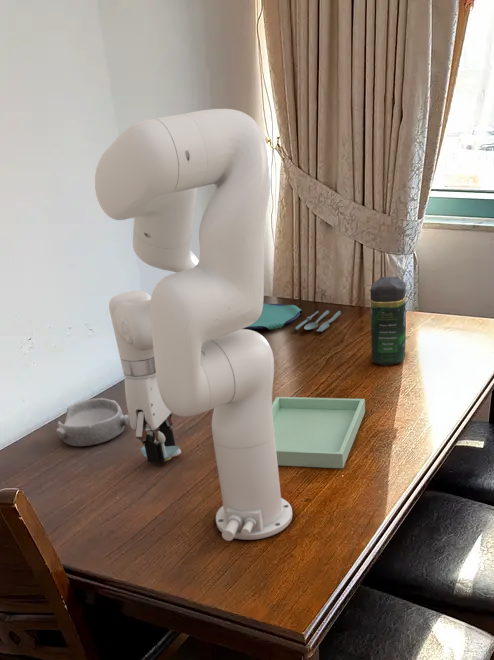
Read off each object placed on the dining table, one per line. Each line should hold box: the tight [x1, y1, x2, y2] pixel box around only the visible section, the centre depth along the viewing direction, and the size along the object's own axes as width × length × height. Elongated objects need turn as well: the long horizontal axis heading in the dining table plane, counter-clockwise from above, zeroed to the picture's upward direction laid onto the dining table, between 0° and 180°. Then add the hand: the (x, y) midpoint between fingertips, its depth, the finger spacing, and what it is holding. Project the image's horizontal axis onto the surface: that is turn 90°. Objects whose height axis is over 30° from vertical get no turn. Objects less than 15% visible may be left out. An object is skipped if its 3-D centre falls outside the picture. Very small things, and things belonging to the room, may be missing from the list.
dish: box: [55, 397, 130, 447], centre depth 160 cm, size 14×14×5 cm
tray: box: [272, 396, 366, 469], centre depth 150 cm, size 24×19×3 cm
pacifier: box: [140, 431, 182, 462], centre depth 146 cm, size 7×6×6 cm
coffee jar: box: [369, 276, 407, 366], centre depth 177 cm, size 10×8×19 cm
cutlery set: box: [244, 302, 342, 333], centre depth 210 cm, size 20×30×2 cm, turn 64°
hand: (162, 454), depth 147 cm, fingers closed on pacifier, 4 cm apart
